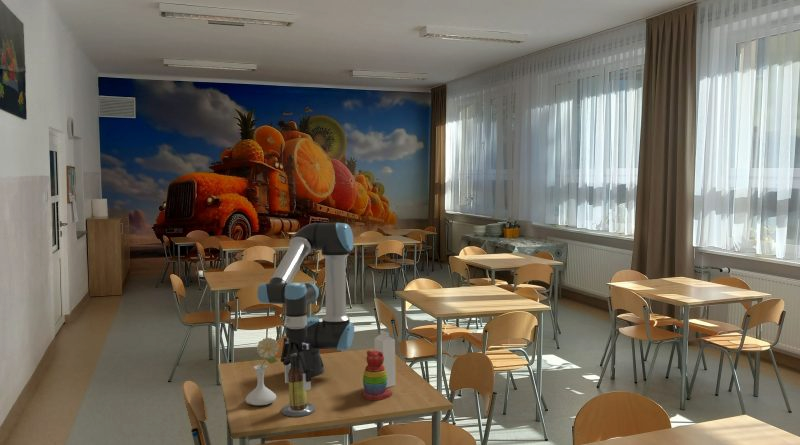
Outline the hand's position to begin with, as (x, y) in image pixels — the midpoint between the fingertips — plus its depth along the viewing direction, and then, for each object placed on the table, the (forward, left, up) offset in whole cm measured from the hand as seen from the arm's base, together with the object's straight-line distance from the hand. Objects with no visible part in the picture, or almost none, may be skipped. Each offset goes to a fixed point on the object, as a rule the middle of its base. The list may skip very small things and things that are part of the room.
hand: (297, 386), depth 231 cm
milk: (+1, +41, -9) cm, 42 cm away
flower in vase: (-16, -5, -9) cm, 19 cm away
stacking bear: (+8, +30, -9) cm, 32 cm away
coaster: (0, 0, -9) cm, 9 cm away
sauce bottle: (0, 0, -8) cm, 8 cm away
